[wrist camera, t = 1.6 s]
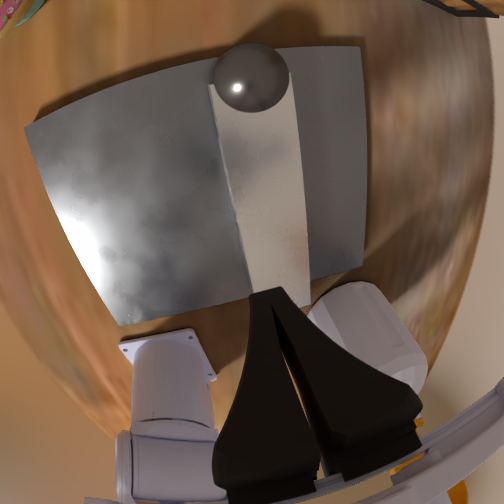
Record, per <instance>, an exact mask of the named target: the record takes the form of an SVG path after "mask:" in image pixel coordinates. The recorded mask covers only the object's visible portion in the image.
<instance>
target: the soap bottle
mask: <svg viewBox="0 0 504 504" xmlns="http://www.w3.org/2000/svg"><path fill="white" fill-rule="evenodd" d="M307 317H308V318H309V319H310V320H311V321H312V322H313V323H314V324H315V325H316V326H317V327H318V328H319V329H320V330H321V331H323V332H324V333H325V334H326V335H327V336H328V337H330V338H331V339H332V340H333V341H334V342H336V343H337V344H338V345H340V346H341V347H342V348H344V349H345V350H346V351H348V352H349V353H351V354H352V355H354V356H355V357H357V358H358V359H360V360H362V361H363V362H365V363H367V364H368V365H370V366H372V367H373V368H375V369H377V370H379V371H381V372H383V373H385V374H387V375H389V376H391V377H393V378H395V379H397V380H400V381H402V382H404V383H407V384H409V385H410V387H411V388H412V389H413V390H414V391H415V393H416V394H417V395H418V393H419V392H420V390H421V388H422V387H423V384H424V381H425V378H426V375H427V371H428V365H427V360H426V356H425V355H424V353H423V352H422V350H421V349H420V347H419V346H418V344H417V342H416V341H415V339H414V338H413V336H412V335H411V333H410V332H409V331H408V329H407V328H406V326H405V325H404V323H403V322H402V320H401V319H400V317H399V316H398V315H397V313H396V312H395V310H394V309H393V307H392V306H391V305H390V303H389V302H388V300H387V299H386V298H385V296H384V295H383V294H382V292H381V291H380V290H379V289H378V288H377V287H376V286H375V285H374V284H371V283H367V282H364V281H359V282H350V283H347V284H344V285H342V286H339V287H337V288H334V289H333V290H331V291H330V292H328V293H327V294H325V295H324V296H322V297H321V298H320V299H319V300H318V301H317V302H316V303H315V305H314V306H313V307H312V308H311V309H310V311H309V313H308V315H307ZM414 422H415V424H416V426H417V429H419V428H420V427H421V426H422V425H423V424H424V422H423V421H422V417H421V415H420V414H418V416H417V417H416V418H415V419H414ZM417 429H416V430H415V431H416V433H417V435H418V437H419V434H418V432H417ZM423 454H424V452H423V453H422V454H420V455H418V456H416V457H414V458H412V459H410V460H408V461H407V462H405V463H403V464H402V465H400V466H398V467H397V468H395V469H393V470H391V471H390V473H391V475H393V474H395V473H397V472H398V471H400V470H401V469H402V468H403V467H405V466H407V465H409V464H411V463H412V462H414V461H416V460H418V459H419V458H421V457H423ZM447 494H448V496H449V498H450V501H451V503H452V504H468V491H467V487H466V485H465V482H464V480H461V481H460V482H459V483H457V484H456V485H455V486H453V487H452V488H450V489H449V490H448V491H447Z"/></svg>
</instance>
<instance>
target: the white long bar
mask: <svg viewBox="0 0 504 504" xmlns="http://www.w3.org/2000/svg"><path fill="white" fill-rule="evenodd" d="M210 82H211V83H209V84H207V85H208V90H209V95H210V99H211V104H212V109H213V114H214V119H215V123H216V128H217V133H218V138H219V142H220V147H221V152H222V157H223V161H224V166H225V171H226V175H227V180H228V185H229V189H230V194H231V199H232V203H233V208H234V213H235V217H236V222H237V226H238V231H239V236H240V240H241V245H242V249H243V254H244V258H245V263H246V267H247V272H248V276H249V281H250V285H251V290H252V293H256V292H260V291H264V290H267V289H271V288H275V287H278V286H281V287H283V288H284V290H285V291H286V293H287V294H288V295H289V297H290V298H291V299H292V300H293V302H294V303H295V304H296V305H297V306H298V308H300V307H304V306H307V305H311V294H310V270H309V251H308V235H307V220H306V207H305V194H304V183H303V172H302V162H301V152H300V143H299V134H298V125H297V117H296V109H295V102H294V94H293V87H292V80H291V73H290V72H289V70H288V67H287V64H286V62H285V60H284V59H283V57H282V56H281V55H280V54H279V53H278V52H277V51H276V50H274V49H273V48H271V47H269V46H267V45H264V44H260V43H243V44H239V45H236V46H234V47H232V48H231V49H229V50H228V51H226V52H225V53H224V54H222V55H221V56H220V57H219V58H218V59H217V60H216V61H215V63H214V65H213V67H212V69H211V74H210Z"/></svg>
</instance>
